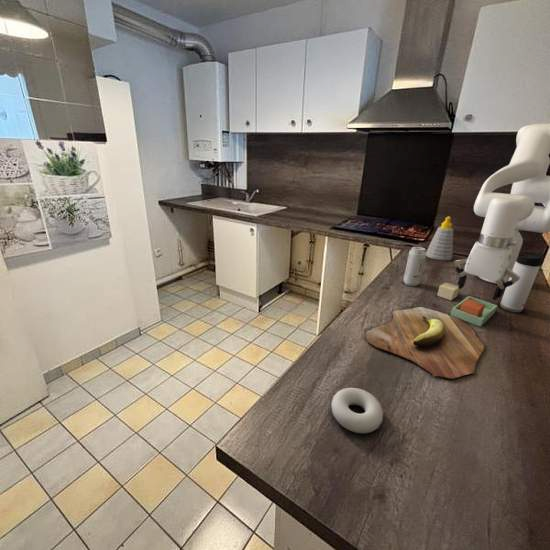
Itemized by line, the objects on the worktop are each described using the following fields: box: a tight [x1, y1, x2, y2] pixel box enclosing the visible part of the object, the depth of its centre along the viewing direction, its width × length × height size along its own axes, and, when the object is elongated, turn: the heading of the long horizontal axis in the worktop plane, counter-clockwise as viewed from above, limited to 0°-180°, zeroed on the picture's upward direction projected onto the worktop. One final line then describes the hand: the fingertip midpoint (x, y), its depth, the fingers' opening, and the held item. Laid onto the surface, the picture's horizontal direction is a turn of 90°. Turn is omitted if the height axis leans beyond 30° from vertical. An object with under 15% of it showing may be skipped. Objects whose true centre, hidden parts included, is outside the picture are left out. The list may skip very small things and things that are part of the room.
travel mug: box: [499, 252, 545, 313], centre depth 97 cm, size 6×7×20 cm
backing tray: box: [450, 295, 498, 327], centre depth 96 cm, size 14×9×3 cm, turn 130°
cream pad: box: [436, 282, 460, 301], centre depth 108 cm, size 6×5×4 cm
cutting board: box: [365, 306, 485, 380], centre depth 84 cm, size 35×27×4 cm
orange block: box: [460, 299, 485, 317], centre depth 94 cm, size 6×5×4 cm
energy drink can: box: [403, 246, 427, 287], centre depth 116 cm, size 6×6×15 cm
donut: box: [330, 387, 384, 434], centre depth 58 cm, size 10×4×10 cm
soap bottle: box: [425, 215, 454, 262], centre depth 147 cm, size 12×12×20 cm
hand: (477, 292), depth 92 cm, fingers open, 9 cm apart
